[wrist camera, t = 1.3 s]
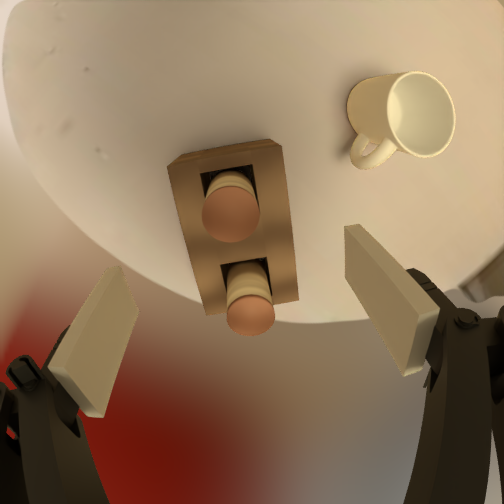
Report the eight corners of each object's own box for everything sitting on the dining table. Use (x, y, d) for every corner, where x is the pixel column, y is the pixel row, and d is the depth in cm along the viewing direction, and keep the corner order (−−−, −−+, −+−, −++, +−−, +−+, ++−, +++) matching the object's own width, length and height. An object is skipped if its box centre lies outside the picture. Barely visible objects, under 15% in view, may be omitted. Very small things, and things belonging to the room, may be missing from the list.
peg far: (223, 259, 30) (222, 302, 24) (262, 253, 30) (271, 294, 24) (231, 292, 32) (231, 339, 25) (267, 286, 32) (277, 331, 25)
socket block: (181, 154, 32) (166, 166, 24) (269, 138, 31) (281, 145, 24) (210, 277, 39) (206, 315, 31) (286, 264, 39) (298, 300, 31)
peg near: (205, 172, 26) (196, 193, 20) (248, 165, 26) (255, 183, 20) (213, 213, 28) (208, 246, 21) (255, 206, 28) (263, 237, 21)
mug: (361, 179, 34) (404, 204, 25) (312, 136, 32) (344, 146, 22) (414, 111, 30) (467, 117, 21) (369, 65, 28) (417, 53, 19)
